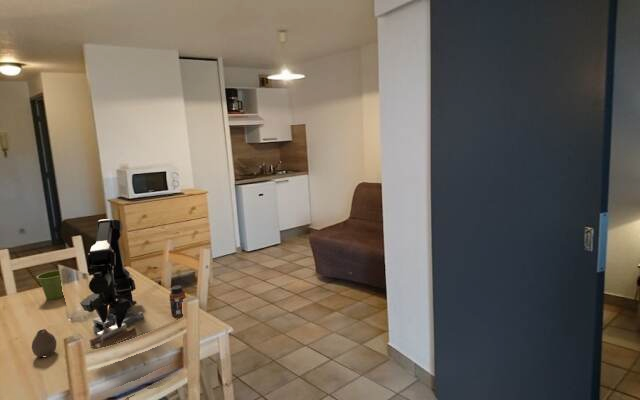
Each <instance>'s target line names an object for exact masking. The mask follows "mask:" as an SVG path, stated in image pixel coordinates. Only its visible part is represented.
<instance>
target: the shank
mask: <svg viewBox="0 0 640 400" xmlns="http://www.w3.org/2000/svg"><path fill="white" fill-rule="evenodd" d="M127 329H128V326H126V324H125V323H122V326H121V327H120V328H118V327H117V324H116V325H114V326H111V327H109V328H107V329H105V330H103V331H101V332H98V333H97V334H96V337H97V336H98V342H99V343H102V342H104V341H106V340H108V339H110V338H112V337H114V336H116V335H118V334H120V333H122V332H124V331H127Z"/></svg>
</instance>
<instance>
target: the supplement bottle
mask: <svg viewBox="0 0 640 400" xmlns="http://www.w3.org/2000/svg"><path fill="white" fill-rule="evenodd" d="M182 287H183V286H181V285H174V286H172V287H171V292H170V293H169V302H170V303H169V304H170V312H171V316H172V317H181V316H183V315H182V302H183V299H184V298H186V291H184V290H183V288H182Z"/></svg>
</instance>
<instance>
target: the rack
mask: <svg viewBox="0 0 640 400" xmlns="http://www.w3.org/2000/svg"><path fill="white" fill-rule="evenodd" d="M136 334H137V329H136V327H135V326H134V327H133V326H132V327H131V328H127V331H124V332H122V333H120V334H118V335H116V336H114V337H112V338H110V339H108V340H106V341H104V342H102V343H99V342H98V336H97V335H96V336H95V337H92V338H90V339H89V345H90V347H92V346H93V348H94V349H97V348H102V347H106V346H109V345H112V344H114V345H116V344H117V343H116V342H118V341H120V340H122V341H124V340H125V338H126V339H128V338H130V337H132V336H134V335H136ZM123 339H124V340H123ZM120 342H121V341H120ZM115 343H116V344H115ZM118 343H119V342H118ZM112 346H113V345H112Z"/></svg>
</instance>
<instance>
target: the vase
mask: <svg viewBox="0 0 640 400" xmlns="http://www.w3.org/2000/svg"><path fill="white" fill-rule="evenodd" d="M56 349H57V339H56V338H55V336H54V335H53V334H52V333H51V332H49V331H47V330H46V329H44V328H43V329H39V330H38V331H37V333H36V335H35V337H34V338H33V339H32V342H31V350H32V353H33V355H34V356H36V357H37V358H39V357H43V356H48V355H50V356H52V355H53V354H54V353H55V351H56ZM52 353H53V354H52ZM51 354H52V355H51ZM48 357H49V356H48Z"/></svg>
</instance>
